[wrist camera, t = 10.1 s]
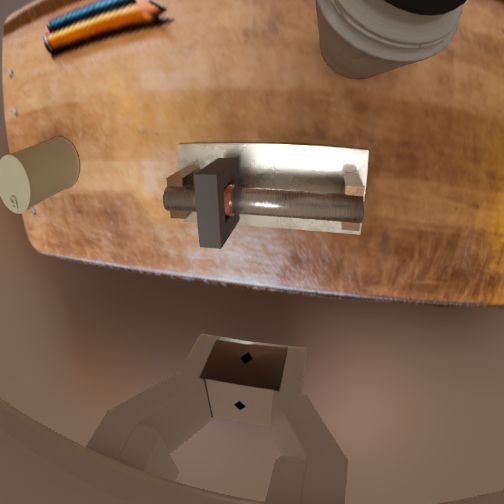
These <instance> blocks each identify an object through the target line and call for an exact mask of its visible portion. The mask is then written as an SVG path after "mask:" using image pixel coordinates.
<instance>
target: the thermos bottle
mask: <svg viewBox="0 0 504 504" xmlns="http://www.w3.org/2000/svg"><path fill="white" fill-rule="evenodd" d="M465 1H466V0H316V9H317V18H318V28H319V34H320V49H321V54H322V56H323V58H324V60H325V62H326V63H327V65H328V66H329V67H330V68H331V69H332V70H333V71H335V72H336V73H338V74H339V75H342V76H344V77H347V78H350V79H365V78H369V77H372V76H375V75H378V74H380V73H383V72H386V71H389V70H392V69H395V68H398V67H402V66H405V65H408V64H411V63H414V62H418V61H421V60H424V59H427V58H429V57H431V56H434V55H436V54H437V53H439V52H440V51H441V50H443V49H444V48H445V47H446V46H447V45H448V43H449V42H450V41H451V40H452V38H453V36H454V34H455V31H456V29H457V25H458V21H459V18H460V16H461V13H462V6H463V4H464V3H465Z"/></svg>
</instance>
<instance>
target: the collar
mask: <svg viewBox="0 0 504 504" xmlns="http://www.w3.org/2000/svg"><path fill="white" fill-rule="evenodd" d="M193 175H194V188H195V200H196V211H197V222H198V233H199V243H200V247H207V248H219V249H221V248H222V247H223V245H224V243H225V242H226V240H227V239H228V237H229V236H230V234H231V233H232V231H233V229H234V228H235V226H236V225H237V223H238V222H239V220H240V215H239V214H234V215H233V216H225V206H224V188H225V187H226V186H227V185H235V187H239V186H238V158H217V159H216V160H214V161H213V162H211V163H210V164H208V165H207V166H205V167H204V168H202V169H201V170H199V171H198V172H196V173H195V174H193Z"/></svg>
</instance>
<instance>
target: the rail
mask: <svg viewBox="0 0 504 504" xmlns="http://www.w3.org/2000/svg"><path fill="white" fill-rule="evenodd" d="M177 147H178V160H179V171H178V172H176V173H174V174H173V175H171V176H169V177H168V178H166V179H167V187H166V189H165V191H164V195H163V203H164V207H165V209H166V210H167V211H170V214H171V218H181V219H184V222H197V211H196V200H195V188H194V175H193V174H195V173H196V172H198V171H199V170H201V169H202V168H204V167H205V166H207V165H208V164H210V163H211V162H213V161H214V160H216V159H217V158H238V186H239V187H235V185H227V186H226V187H225V188H224V206H225V216H233V215H234V214H239V215H240V220H239V222H238V223H237V225H244V226H258V227H272V228H286V229H299V230H311V231H323V232H335V233H347V234H358V235H360V233H361V225H362V220H363V213H364V200H365V190H366V180H367V169H368V156H369V150H368V149H358V148H347V147H335V146H322V145H305V144H284V143H238V142H228V143H181V144H178V145H177ZM197 223H198V222H197Z"/></svg>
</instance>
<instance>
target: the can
mask: <svg viewBox="0 0 504 504" xmlns="http://www.w3.org/2000/svg"><path fill="white" fill-rule="evenodd" d="M79 171H80V162H79V157H78V153H77V151H76V149H75V147H74V145H73V144H72V143H71V142H70V141H69V140H68V139H66V138H64V137H54V138H52V139H51V140H48V141H45V142H42V143H40V144H37V145H34V146H31V147H28V148H25V149H23V150H20V151H17V152H14V153H11V154H8V155H5V156H3V157H2V158H1V160H0V196H1V198H2V200H3V202H4V203H5V205H6V206H7V207H8V208H9V209H10V210H11V211H12V212H14V213H17V214H21V213H24V212H25V211H26V210H28V209H29V208H31V207H33V206H34V205H36V204H38V203H39V202H41V201H43V200H45V199H47V198H48V197H50V196H52V195H54V194H56V193H58V192H60V191H62V190H64V189H67V188H70V187H71V186H73V185H74V184H75V182H76V181H77V179H78V176H79Z"/></svg>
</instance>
